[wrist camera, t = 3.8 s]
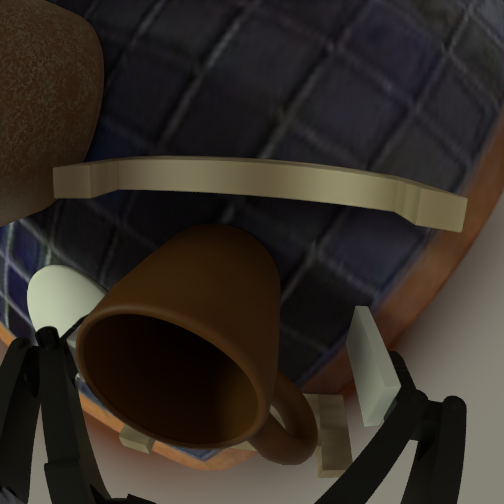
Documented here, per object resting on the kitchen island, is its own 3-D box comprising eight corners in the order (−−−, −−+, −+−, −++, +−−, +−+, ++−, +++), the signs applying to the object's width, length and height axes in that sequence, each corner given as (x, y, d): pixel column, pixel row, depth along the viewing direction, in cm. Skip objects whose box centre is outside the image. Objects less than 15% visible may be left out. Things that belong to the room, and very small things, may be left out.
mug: (352, 326, 18) (385, 448, 9) (268, 384, 20) (255, 495, 11) (213, 191, 16) (126, 245, 7) (139, 276, 18) (51, 366, 9)
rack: (155, 381, 21) (123, 445, 15) (134, 156, 15) (52, 168, 9) (338, 404, 20) (347, 476, 14) (397, 176, 14) (467, 198, 8)
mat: (51, 362, 23) (48, 366, 23) (19, 256, 19) (15, 258, 19) (149, 396, 22) (146, 401, 22) (126, 275, 18) (122, 278, 18)
